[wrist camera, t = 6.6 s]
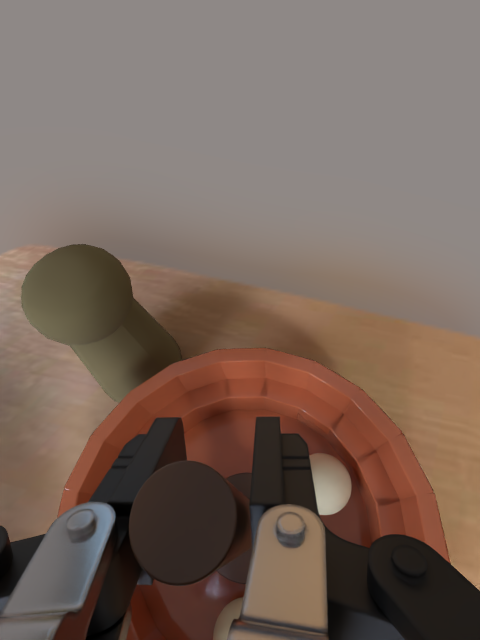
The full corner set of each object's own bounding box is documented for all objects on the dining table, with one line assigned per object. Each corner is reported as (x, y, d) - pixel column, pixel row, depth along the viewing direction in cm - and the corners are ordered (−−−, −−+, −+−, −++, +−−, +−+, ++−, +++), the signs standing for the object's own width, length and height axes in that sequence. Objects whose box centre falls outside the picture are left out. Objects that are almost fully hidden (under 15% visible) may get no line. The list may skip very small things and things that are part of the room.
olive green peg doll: (84, 364, 27) (-24, 275, 17) (150, 314, 29) (84, 207, 19) (129, 424, 24) (31, 358, 15) (198, 364, 26) (150, 270, 16)
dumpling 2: (343, 458, 21) (351, 448, 19) (350, 516, 20) (360, 514, 17) (291, 457, 22) (293, 448, 19) (294, 515, 20) (296, 513, 17)
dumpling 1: (278, 593, 18) (277, 604, 16) (280, 673, 17) (280, 700, 14) (219, 591, 19) (209, 601, 16) (216, 670, 17) (205, 695, 15)
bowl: (376, 383, 24) (401, 343, 19) (439, 748, 16) (516, 854, 11) (132, 387, 26) (95, 351, 20) (76, 720, 17) (-11, 802, 12)
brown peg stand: (292, 476, 21) (311, 383, 8) (297, 582, 19) (339, 724, 5) (207, 475, 22) (82, 387, 8) (200, 579, 19) (6, 700, 6)
